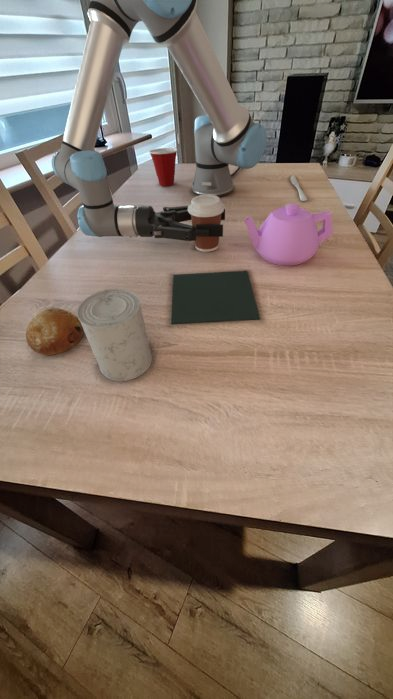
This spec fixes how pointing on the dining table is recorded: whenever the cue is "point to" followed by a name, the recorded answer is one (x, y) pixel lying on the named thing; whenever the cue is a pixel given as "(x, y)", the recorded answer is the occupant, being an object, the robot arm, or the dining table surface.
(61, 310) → the bread roll
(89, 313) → the grey tin can
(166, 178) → the plastic cup
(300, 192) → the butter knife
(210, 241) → the coffee cup
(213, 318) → the mat
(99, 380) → the dining table surface
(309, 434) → the dining table surface
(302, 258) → the teapot
